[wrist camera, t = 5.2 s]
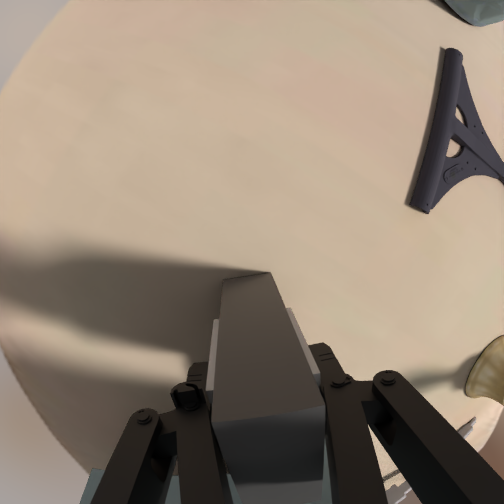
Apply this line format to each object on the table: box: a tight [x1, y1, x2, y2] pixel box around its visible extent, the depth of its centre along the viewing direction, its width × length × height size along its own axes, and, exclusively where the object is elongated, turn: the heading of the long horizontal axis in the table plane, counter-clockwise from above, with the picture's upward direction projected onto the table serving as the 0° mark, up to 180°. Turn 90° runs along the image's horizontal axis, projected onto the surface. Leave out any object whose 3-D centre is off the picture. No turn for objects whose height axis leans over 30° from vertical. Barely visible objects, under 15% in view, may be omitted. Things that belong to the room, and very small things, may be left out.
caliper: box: [385, 417, 476, 504], centre depth 23 cm, size 20×1×6 cm, turn 124°
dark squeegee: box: [410, 48, 504, 214], centre depth 17 cm, size 14×15×3 cm
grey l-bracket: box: [211, 273, 325, 504], centre depth 15 cm, size 20×3×12 cm, turn 8°
